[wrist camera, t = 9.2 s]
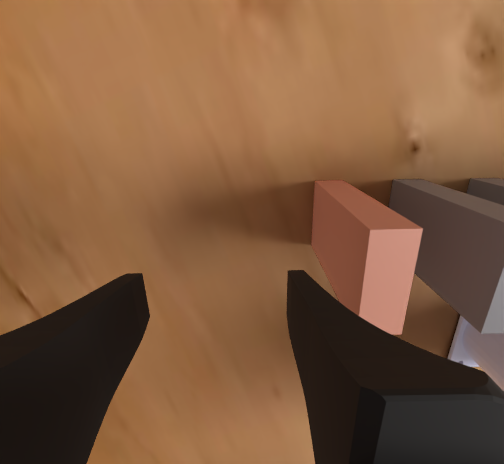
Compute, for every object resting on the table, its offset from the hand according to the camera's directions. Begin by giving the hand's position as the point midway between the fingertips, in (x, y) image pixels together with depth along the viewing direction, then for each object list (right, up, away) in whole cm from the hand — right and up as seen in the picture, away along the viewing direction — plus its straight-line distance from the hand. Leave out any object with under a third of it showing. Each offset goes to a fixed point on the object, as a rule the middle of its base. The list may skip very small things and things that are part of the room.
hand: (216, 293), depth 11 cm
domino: (+13, +4, +10) cm, 16 cm away
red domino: (+7, +4, +10) cm, 13 cm away
